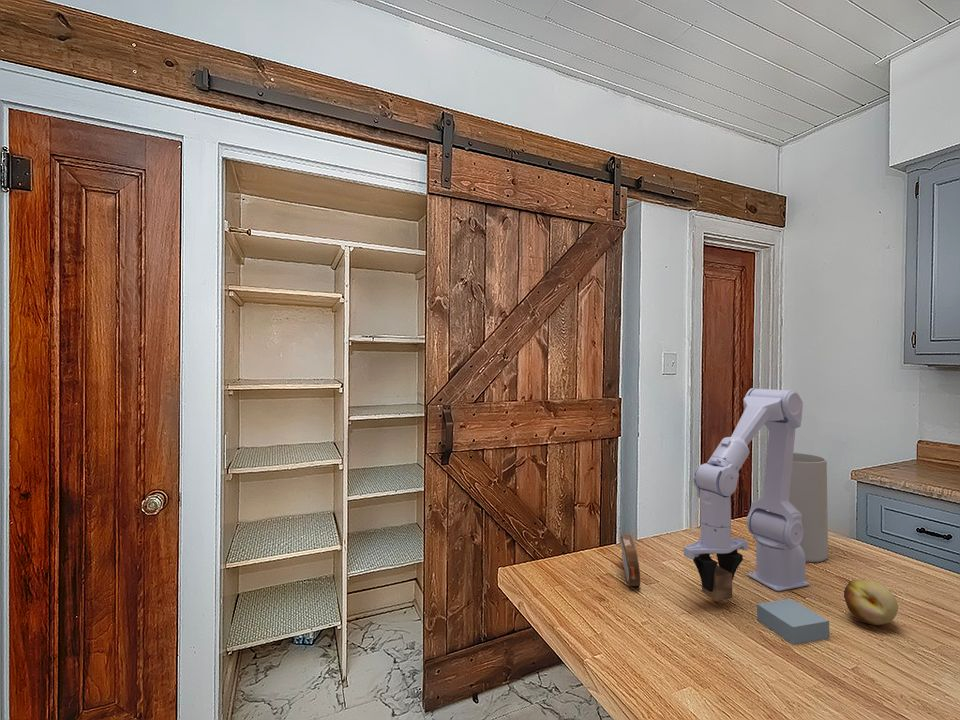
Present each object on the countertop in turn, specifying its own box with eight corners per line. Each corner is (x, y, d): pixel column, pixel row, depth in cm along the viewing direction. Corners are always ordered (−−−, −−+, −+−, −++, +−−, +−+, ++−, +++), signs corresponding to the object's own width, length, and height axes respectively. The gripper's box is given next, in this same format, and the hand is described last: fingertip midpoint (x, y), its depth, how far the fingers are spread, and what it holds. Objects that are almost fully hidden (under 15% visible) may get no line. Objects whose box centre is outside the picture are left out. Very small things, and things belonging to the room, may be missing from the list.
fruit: (835, 617, 89) (835, 577, 89) (860, 608, 93) (860, 568, 93) (882, 639, 82) (881, 595, 82) (907, 628, 86) (906, 585, 86)
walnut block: (717, 588, 97) (716, 565, 97) (732, 597, 93) (732, 573, 93) (701, 591, 96) (701, 567, 96) (716, 600, 92) (715, 576, 92)
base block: (791, 616, 91) (790, 598, 91) (829, 640, 83) (829, 620, 83) (757, 621, 89) (756, 603, 89) (793, 646, 81) (792, 627, 81)
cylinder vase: (777, 539, 128) (776, 450, 127) (832, 552, 118) (831, 457, 118) (763, 552, 119) (761, 457, 119) (822, 568, 110) (820, 465, 110)
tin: (641, 593, 100) (641, 555, 100) (626, 592, 100) (626, 554, 100) (632, 563, 115) (632, 529, 114) (619, 562, 115) (619, 529, 115)
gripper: (728, 512, 100) (729, 573, 101) (673, 520, 97) (674, 583, 97) (755, 523, 94) (757, 589, 94) (697, 532, 90) (698, 600, 90)
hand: (716, 587), depth 95 cm, fingers closed on walnut block, 4 cm apart
